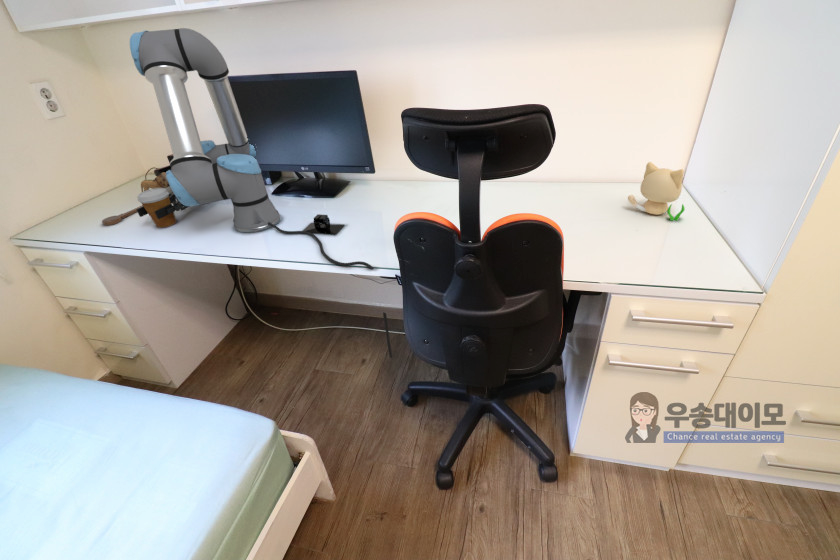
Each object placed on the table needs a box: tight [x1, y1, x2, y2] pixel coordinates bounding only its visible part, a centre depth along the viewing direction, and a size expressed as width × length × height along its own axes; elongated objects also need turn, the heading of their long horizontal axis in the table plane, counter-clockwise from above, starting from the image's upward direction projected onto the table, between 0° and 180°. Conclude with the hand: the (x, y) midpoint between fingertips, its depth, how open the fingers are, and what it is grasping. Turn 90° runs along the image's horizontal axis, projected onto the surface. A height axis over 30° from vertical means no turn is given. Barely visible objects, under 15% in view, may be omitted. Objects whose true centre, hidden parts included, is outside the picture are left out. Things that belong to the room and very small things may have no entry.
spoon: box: [101, 204, 143, 227], centre depth 153 cm, size 6×24×2 cm, turn 159°
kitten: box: [627, 161, 686, 222], centre depth 117 cm, size 15×10×15 cm
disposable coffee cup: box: [137, 188, 177, 229], centre depth 138 cm, size 10×10×12 cm
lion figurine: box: [140, 172, 169, 193], centre depth 167 cm, size 15×5×9 cm, turn 104°
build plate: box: [302, 214, 346, 236], centre depth 128 cm, size 12×7×5 cm, turn 75°
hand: (147, 214), depth 135 cm, fingers closed on disposable coffee cup, 8 cm apart
